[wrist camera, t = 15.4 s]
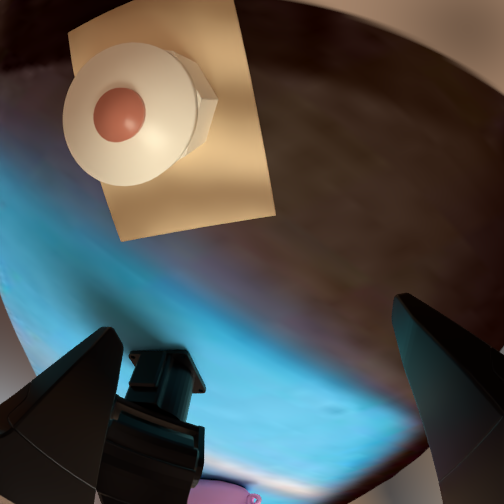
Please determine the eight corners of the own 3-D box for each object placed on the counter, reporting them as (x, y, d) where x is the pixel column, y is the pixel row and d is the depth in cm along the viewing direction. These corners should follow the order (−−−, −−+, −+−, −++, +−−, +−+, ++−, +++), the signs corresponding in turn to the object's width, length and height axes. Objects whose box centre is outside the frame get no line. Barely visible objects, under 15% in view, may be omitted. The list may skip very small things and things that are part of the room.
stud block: (275, 209, 19) (277, 246, 15) (126, 235, 21) (94, 273, 16) (228, -22, 12) (215, -58, 8) (75, 34, 14) (29, 26, 9)
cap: (105, 149, 17) (51, 172, 12) (127, 50, 14) (74, 38, 9) (198, 172, 18) (170, 205, 12) (230, 68, 14) (212, 52, 9)
